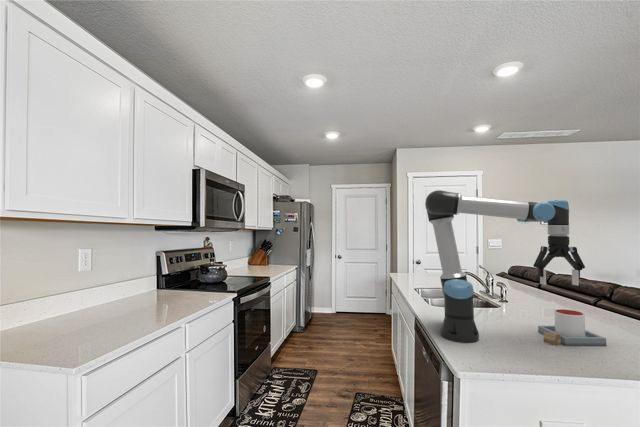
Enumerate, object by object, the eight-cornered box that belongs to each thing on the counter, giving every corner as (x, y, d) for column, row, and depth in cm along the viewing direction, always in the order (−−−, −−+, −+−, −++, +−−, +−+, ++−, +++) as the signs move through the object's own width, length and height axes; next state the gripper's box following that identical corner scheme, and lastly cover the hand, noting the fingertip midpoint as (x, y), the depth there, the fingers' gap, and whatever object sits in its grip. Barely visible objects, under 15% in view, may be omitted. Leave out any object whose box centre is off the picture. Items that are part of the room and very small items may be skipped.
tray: (565, 345, 126) (565, 338, 126) (538, 332, 142) (538, 325, 142) (606, 345, 126) (605, 338, 126) (574, 332, 142) (574, 325, 142)
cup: (591, 341, 128) (590, 316, 129) (562, 339, 130) (562, 314, 131) (576, 333, 138) (575, 309, 138) (550, 331, 140) (549, 308, 140)
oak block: (553, 345, 127) (553, 335, 127) (543, 342, 130) (543, 332, 131) (560, 344, 128) (560, 334, 128) (550, 341, 132) (550, 331, 132)
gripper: (534, 235, 135) (535, 285, 135) (595, 236, 134) (596, 286, 134) (523, 234, 143) (524, 282, 142) (581, 235, 142) (582, 283, 141)
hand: (559, 284), depth 138 cm, fingers open, 13 cm apart
